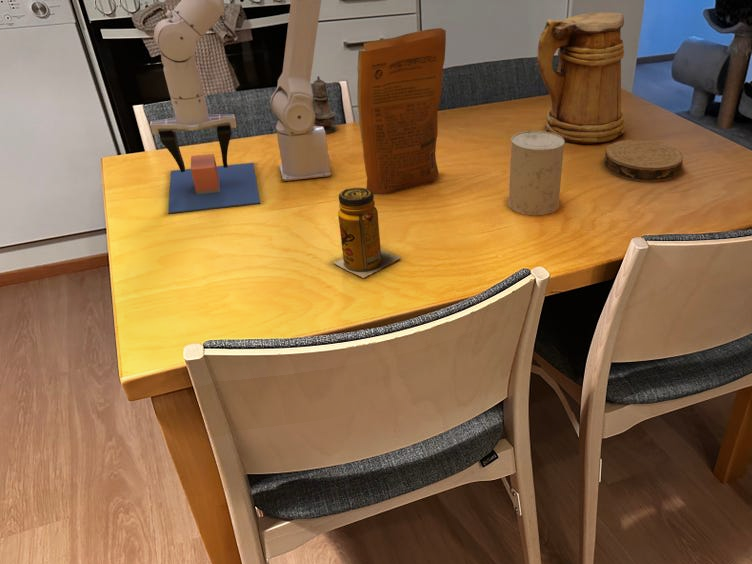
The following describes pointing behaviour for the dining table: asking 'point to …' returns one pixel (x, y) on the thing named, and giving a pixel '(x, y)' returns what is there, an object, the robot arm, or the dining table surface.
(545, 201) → the grey stone cylinder
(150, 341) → the dining table surface
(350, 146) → the dining table surface
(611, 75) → the tankard
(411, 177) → the pancake mix bag
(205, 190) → the orange rectangular block
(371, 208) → the condiment
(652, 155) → the brown round disc
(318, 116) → the grey pagoda figurine
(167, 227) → the dining table surface
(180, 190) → the cloth
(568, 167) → the dining table surface
